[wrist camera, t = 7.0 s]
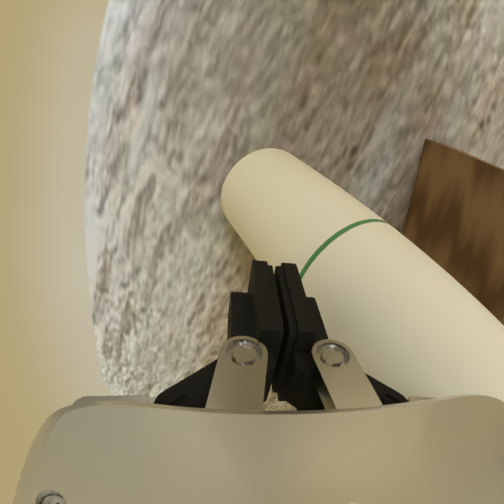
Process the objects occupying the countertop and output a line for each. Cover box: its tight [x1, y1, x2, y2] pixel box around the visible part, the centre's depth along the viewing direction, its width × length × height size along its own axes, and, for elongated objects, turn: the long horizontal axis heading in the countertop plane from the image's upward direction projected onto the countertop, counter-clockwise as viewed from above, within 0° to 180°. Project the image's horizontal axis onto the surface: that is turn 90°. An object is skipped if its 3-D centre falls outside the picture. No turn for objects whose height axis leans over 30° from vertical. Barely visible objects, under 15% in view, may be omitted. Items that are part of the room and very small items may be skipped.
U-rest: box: [401, 139, 504, 325], centre depth 18 cm, size 13×3×21 cm, turn 173°
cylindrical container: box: [221, 148, 504, 402], centre depth 16 cm, size 7×7×25 cm
